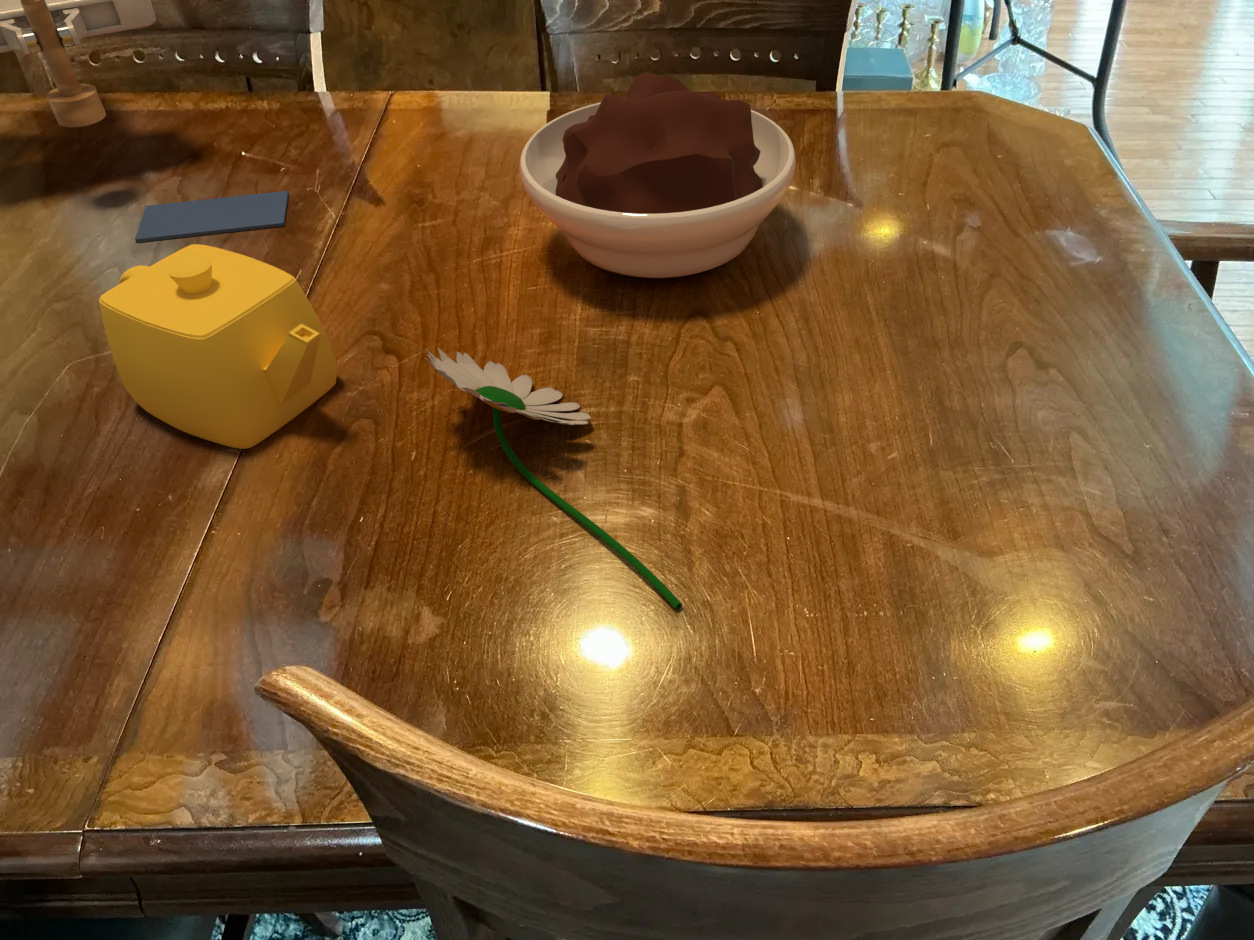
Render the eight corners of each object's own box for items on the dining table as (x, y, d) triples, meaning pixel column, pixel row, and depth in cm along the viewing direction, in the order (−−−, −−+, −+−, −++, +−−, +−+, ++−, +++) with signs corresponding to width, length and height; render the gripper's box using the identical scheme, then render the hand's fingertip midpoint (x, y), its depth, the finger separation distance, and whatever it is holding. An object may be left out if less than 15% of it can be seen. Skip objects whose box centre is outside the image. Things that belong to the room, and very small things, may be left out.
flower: (630, 577, 64) (399, 311, 78) (591, 644, 66) (373, 373, 81) (764, 569, 74) (537, 335, 89) (726, 628, 76) (510, 390, 91)
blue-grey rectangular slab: (136, 242, 105) (134, 239, 105) (147, 209, 110) (145, 205, 110) (284, 226, 107) (283, 222, 107) (289, 194, 112) (288, 190, 112)
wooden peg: (53, 129, 104) (-28, -53, 93) (62, 111, 107) (-15, -68, 96) (101, 125, 104) (26, -57, 93) (109, 106, 107) (38, -71, 96)
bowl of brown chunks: (542, 332, 93) (518, 165, 83) (523, 198, 111) (501, 46, 100) (821, 299, 97) (832, 135, 86) (760, 174, 114) (763, 25, 103)
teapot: (394, 391, 87) (358, 261, 79) (282, 479, 80) (230, 346, 71) (218, 326, 94) (169, 201, 86) (100, 402, 87) (33, 272, 78)
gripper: (-104, -18, 102) (-95, 26, 94) (123, -53, 110) (151, -15, 101) (-70, 51, 107) (-59, 99, 98) (147, 13, 114) (175, 54, 106)
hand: (50, 41), depth 100 cm, fingers closed on wooden peg, 2 cm apart
